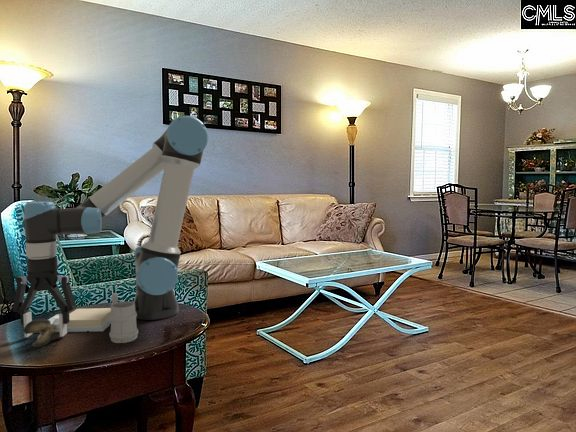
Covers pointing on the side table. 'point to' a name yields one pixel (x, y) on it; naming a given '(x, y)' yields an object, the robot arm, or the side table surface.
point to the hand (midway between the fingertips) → (46, 335)
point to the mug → (122, 321)
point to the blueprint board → (87, 320)
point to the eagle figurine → (42, 330)
